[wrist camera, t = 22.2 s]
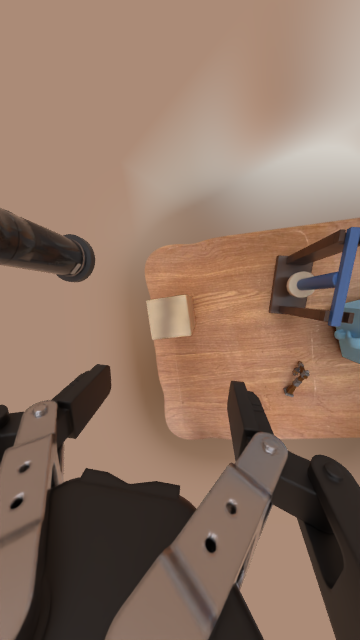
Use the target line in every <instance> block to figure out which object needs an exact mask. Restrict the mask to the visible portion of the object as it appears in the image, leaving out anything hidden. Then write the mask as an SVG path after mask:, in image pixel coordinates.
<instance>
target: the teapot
mask: <svg viewBox="0 0 360 640" xmlns="http://www.w3.org/2000/svg"><path fill="white" fill-rule="evenodd" d="M343 312H351V313H355V314H354V319H353V323H352V324H348V323H342V322H341V325H340V327H336V330H337V331H335V333H334V336H335V338H336V339H339V344H340V348H341V353H342V357H345V358H347V359H349V360H352V361H354V362H356V363H359V364H360V300H356V301H352V302H349V303H345V307H344V311H343Z"/></svg>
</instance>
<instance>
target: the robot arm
mask: <svg viewBox="0 0 360 640" xmlns="http://www.w3.org/2000/svg"><path fill="white" fill-rule="evenodd" d="M0 265H4V266H10V267H16V268H22V269H28V270H35V271H41V272H47V273H53V274H59V275H63V276H69V277H73V276H76V275H78V274H80V273H81V272H82V271H83V269H84V267H85V265H86V253H85V250H84V248H83V247H82V245H81V244H80V243H78V242H77V241H75V240H72V239H69V238H67V237H65V236H62V235H60V234H58V233H56V232H53V231H51V230H49V229H47V228H44V227H42V226H39V225H37V224H35V223H33V222H31V221H28V220H26V219H24V218H22V217H19V216H17V215H15V214H13V213H11V212H9V211H7V210H4V209H1V208H0ZM110 390H111V374H110V366H108V365H100V364H97V365H96V366H94V367H93V368H92V369H91V370H90V371H86V372H85V373H83V374H81V375H79V376H78V377H77V378H76V379H75V380H74V381H72V382H71V383H70V384H69V385H68V386H67V387H66V388H64V389H63V390H62V391H61V392H60V393H59V394H58V395H56V396H55V397H54V398H53V399H52V400H49V401H48V400H47V401H42V402H39V403H36V404H34V405H32V406H31V407H29V408H28V409H27V410H26V411H25V412H18V413H10V414H9V412H8V408H7V407H6V406H5V405H0V640H264V639H263V637H262V635H261V633H260V631H259V629H258V627H257V625H256V623H255V621H254V619H253V617H252V615H251V612H250V610H249V609H248V606H247V604H246V602H245V600H244V598H243V596H242V594H241V593H240V589H241V586H242V583H243V581H244V578H245V576H246V573H247V571H248V568H249V565H250V563H251V560H252V557H253V554H254V551H255V549H256V546H257V543H258V540H259V538H260V535H261V533H262V530H263V528H264V525H265V523H266V520H267V518H268V515H269V513H270V510H271V508H272V505H275V506H277V507H279V508H280V509H283V510H284V511H286V512H288V513H289V514H291V515H293V516H295V517H297V520H298V523H299V526H300V529H301V532H302V535H303V538H304V541H305V544H306V547H307V550H308V554H309V557H310V560H311V562H312V566H313V569H314V572H315V575H316V579H317V581H318V585H319V588H320V591H321V594H322V597H323V600H324V603H325V606H326V610H327V613H328V616H329V618H330V622H331V625H332V628H333V631H334V634H335V637H336V640H360V487H359V485H358V484H357V482H356V481H355V479H354V478H353V476H352V475H351V473H350V472H349V471H348V470H347V469H346V468H345V467H344V466H342V465H341V464H340V463H338V462H337V461H335V460H334V459H332V458H330V457H327V456H324V455H315V456H314V457H312V460H311V461H309V460H307V459H304V458H302V457H300V456H297V455H295V454H293V453H291V452H289V451H288V450H287V448H286V446H285V445H284V443H283V442H282V441H281V440H280V439H279V438H277V437H276V436H274V434H273V431H272V429H271V426H270V424H269V422H268V419H267V417H266V414H265V413H264V410H263V407H262V405H261V402H260V400H259V398H258V397H257V396H256V395H255V394H254V393H253V392H250V391H247V389H246V386H245V383H244V382H238V381H231V384H230V390H229V396H228V403H227V410H228V417H229V423H230V430H231V436H232V441H233V448H234V454H235V460H236V463H235V464H233V463H230V464H229V465H228V466H227V467H226V469H225V470H224V472H223V473H222V474H221V476H220V477H219V479H218V480H217V481H216V483H215V484H214V486H213V487H212V488H211V490H210V491H209V493H208V494H207V495H206V497H205V498H204V500H203V501H202V502H201V504H200V506H199V507H198V508H197V509H196V508H195V507H194V506H193V505H192V504H191V503H190V502H189V501H188V500H186V499H185V498H183V497H182V496H180V495H179V493H180V486H179V485H173V484H169V483H163V482H158V481H154V482H144V483H136V484H128V483H126V482H124V481H122V480H120V479H119V478H117V477H115V476H114V475H112V474H110V473H108V472H104V471H98V470H93V469H88V468H86V469H85V471H84V472H83V474H82V476H81V477H80V478H75V479H71V480H69V481H66V482H64V481H63V474H64V473H63V472H64V441H65V439H66V438H67V437H68V438H74V439H76V438H77V437H78V435H79V434H80V433H81V431H82V430H83V429H84V427H85V426H86V425H87V423H88V422H89V420H90V419H91V418H92V416H93V415H94V414H95V412H96V411H97V410H98V408H99V407H100V406H101V404H102V403H103V401H104V400H105V399H106V398H107V396H108V394H109V393H110Z"/></svg>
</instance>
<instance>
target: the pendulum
mask: <svg viewBox="0 0 360 640" xmlns="http://www.w3.org/2000/svg"><path fill="white" fill-rule="evenodd" d="M359 237H360V227H351V228H349V229H347V233H346V237H345V242H344V247H343V252H342V257H341V262H340V267H339V271H338V272H334V273H329V274H324V275H319V276H313V275H312V274H311V273H309V272H305V271H303V272H298V273H295V274H293V275H292V276H291V277H290V278H289V279H288V282H287V290H288V292H289V294H290V295H292V296H293V297H296V298H304V297H308V296H309V295H311V294H312V293H313V292H314V291H315V289H326V288H335V291H334V296H333V301H332V305H331V310H330V315H329V320H328V325H329V326H336V327H340V325H341V321H342V316H343V311H344V307H345V302H346V297H347V293H348V288H349V283H350V279H351V274H352V269H353V265H354V260H355V255H356V251H357V246H358V242H359Z"/></svg>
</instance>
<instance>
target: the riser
mask: <svg viewBox="0 0 360 640" xmlns="http://www.w3.org/2000/svg"><path fill="white" fill-rule="evenodd" d="M146 304H147V310H148V316H149V322H150V329H151V334H152V340H157V339H166V338H175V337H184V336H191V335H192V333H193V330H194V328H195V325H196V320H195V313H194V306H193V298H192V296H190V295H179V296H173V297H166V298H159V299H153V300H147V301H146Z"/></svg>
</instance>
